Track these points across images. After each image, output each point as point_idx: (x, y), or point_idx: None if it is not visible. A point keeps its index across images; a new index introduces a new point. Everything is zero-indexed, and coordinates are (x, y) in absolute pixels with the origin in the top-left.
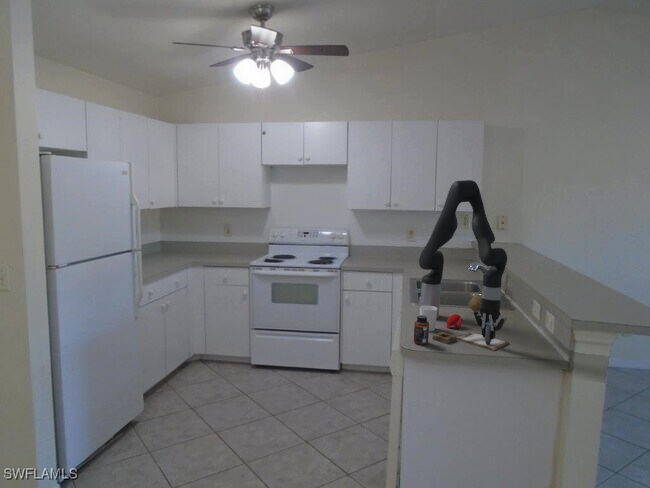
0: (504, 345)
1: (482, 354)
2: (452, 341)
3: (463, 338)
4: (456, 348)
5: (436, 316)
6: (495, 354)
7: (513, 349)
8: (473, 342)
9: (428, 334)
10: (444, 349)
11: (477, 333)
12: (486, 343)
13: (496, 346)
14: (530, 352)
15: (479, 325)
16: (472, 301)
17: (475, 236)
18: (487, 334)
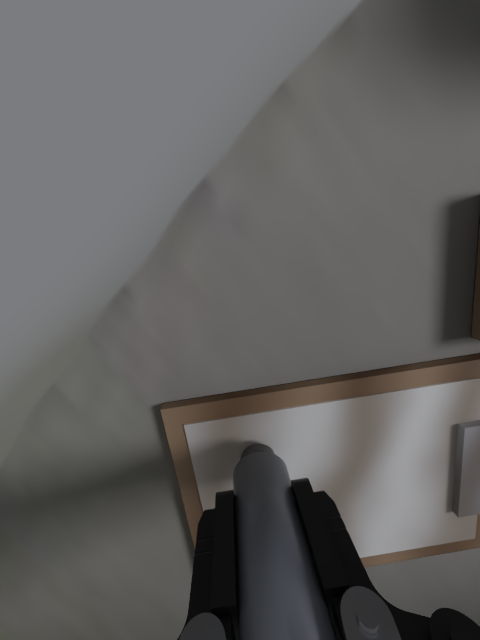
0: (194, 535)
1: (153, 267)
2: (475, 287)
3: (444, 394)
4: (364, 179)
5: None
6: (107, 359)
7: (123, 533)
8: (346, 395)
9: None
10: (419, 41)
11: (431, 550)
12: (257, 445)
13: (194, 472)
14: (37, 576)
15: (439, 623)
16: None
17: None
18: (259, 522)
